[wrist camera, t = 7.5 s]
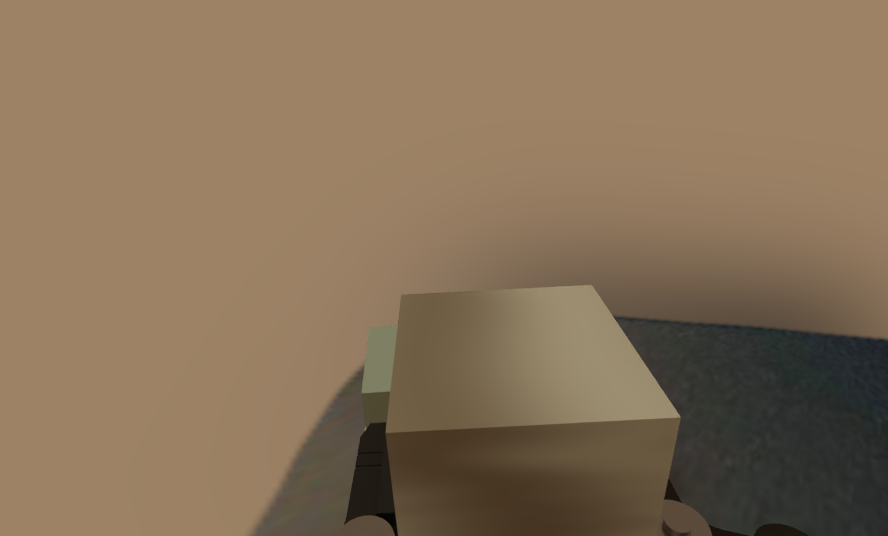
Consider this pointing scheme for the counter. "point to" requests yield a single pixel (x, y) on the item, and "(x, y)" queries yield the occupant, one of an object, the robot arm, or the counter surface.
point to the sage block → (378, 373)
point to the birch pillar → (524, 418)
